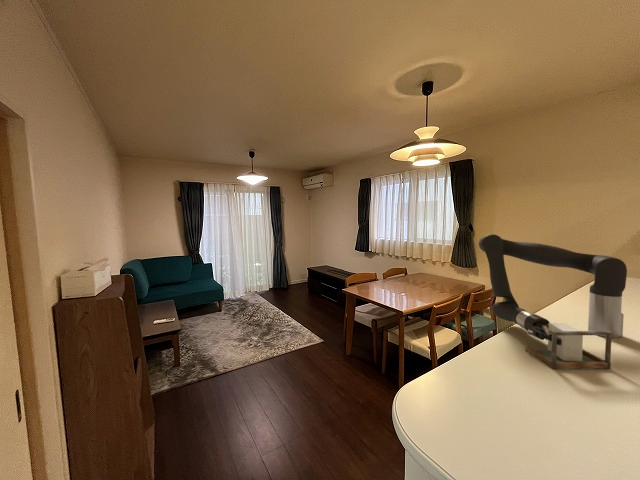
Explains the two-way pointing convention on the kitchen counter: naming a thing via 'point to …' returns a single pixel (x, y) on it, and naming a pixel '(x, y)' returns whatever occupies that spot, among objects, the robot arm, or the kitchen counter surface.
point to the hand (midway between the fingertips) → (570, 342)
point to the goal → (587, 358)
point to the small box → (567, 343)
